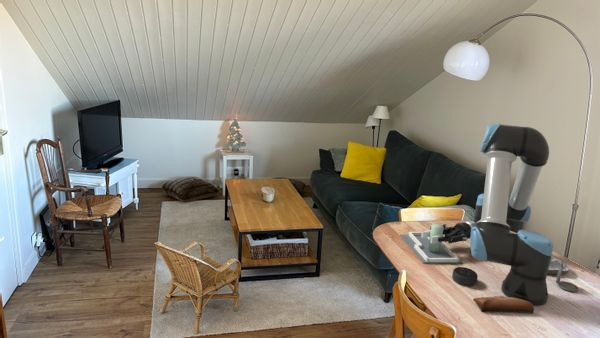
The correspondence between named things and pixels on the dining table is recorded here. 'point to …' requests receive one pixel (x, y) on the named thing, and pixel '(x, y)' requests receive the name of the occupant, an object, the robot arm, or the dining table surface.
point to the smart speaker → (464, 276)
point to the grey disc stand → (564, 284)
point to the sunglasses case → (503, 304)
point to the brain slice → (556, 266)
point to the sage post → (435, 231)
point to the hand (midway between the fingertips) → (426, 237)
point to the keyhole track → (424, 254)
